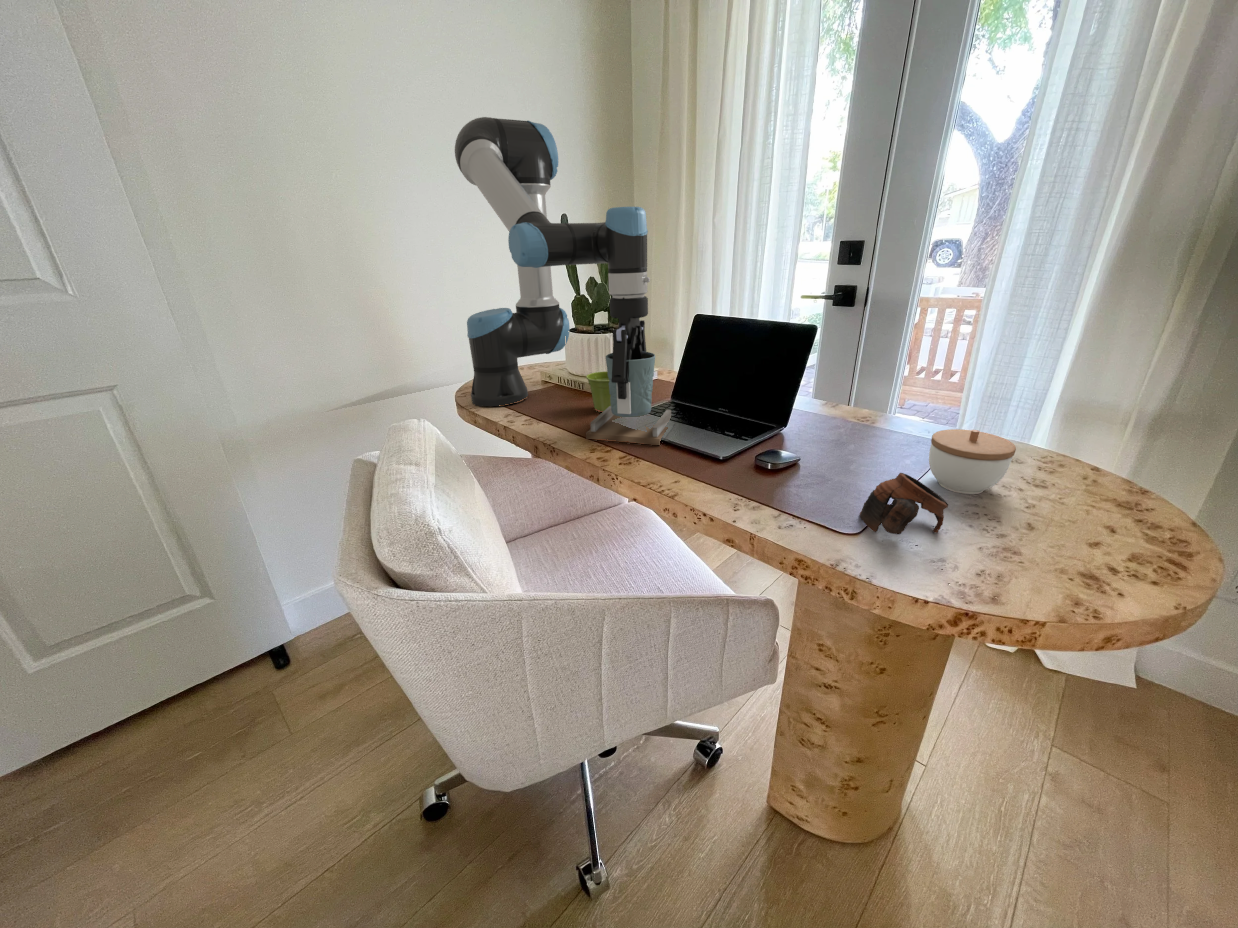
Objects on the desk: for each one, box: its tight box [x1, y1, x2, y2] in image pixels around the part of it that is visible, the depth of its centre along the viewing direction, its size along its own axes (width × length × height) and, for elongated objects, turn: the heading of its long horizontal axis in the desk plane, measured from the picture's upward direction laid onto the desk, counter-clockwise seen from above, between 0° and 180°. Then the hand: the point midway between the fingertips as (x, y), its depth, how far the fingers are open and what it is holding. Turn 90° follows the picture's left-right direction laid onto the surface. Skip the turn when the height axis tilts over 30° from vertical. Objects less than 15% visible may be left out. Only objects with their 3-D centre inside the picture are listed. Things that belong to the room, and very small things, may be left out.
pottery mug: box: [859, 472, 949, 535], centre depth 67 cm, size 12×10×8 cm
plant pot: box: [585, 370, 611, 411], centre depth 120 cm, size 9×9×9 cm
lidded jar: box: [928, 428, 1017, 495], centre depth 77 cm, size 11×11×9 cm
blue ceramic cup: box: [605, 351, 656, 417], centre depth 103 cm, size 10×10×12 cm
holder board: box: [585, 406, 672, 446], centre depth 106 cm, size 16×14×4 cm
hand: (631, 406), depth 105 cm, fingers closed on blue ceramic cup, 9 cm apart
